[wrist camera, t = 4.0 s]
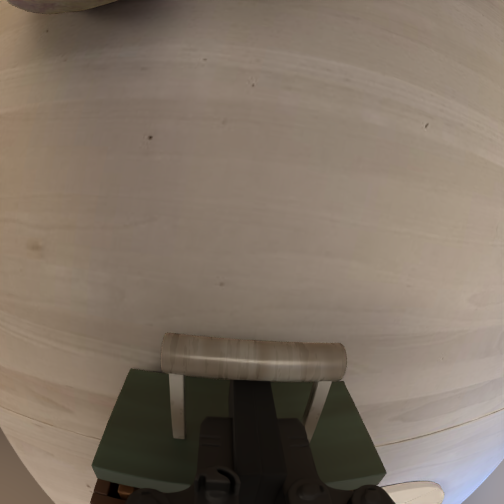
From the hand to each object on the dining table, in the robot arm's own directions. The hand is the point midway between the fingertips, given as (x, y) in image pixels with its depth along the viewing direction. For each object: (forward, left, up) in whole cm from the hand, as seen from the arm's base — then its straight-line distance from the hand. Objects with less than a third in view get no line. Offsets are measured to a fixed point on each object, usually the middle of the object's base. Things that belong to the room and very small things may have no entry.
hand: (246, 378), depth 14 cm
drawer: (+7, 0, -3) cm, 8 cm away
